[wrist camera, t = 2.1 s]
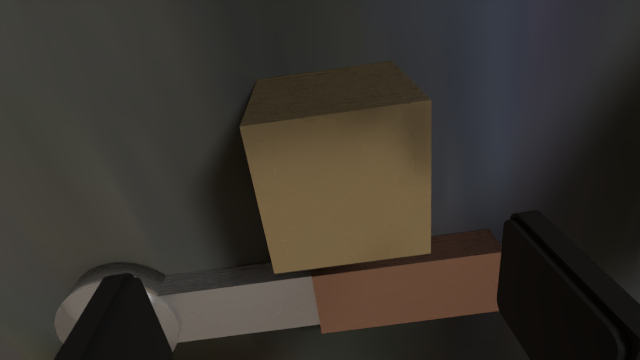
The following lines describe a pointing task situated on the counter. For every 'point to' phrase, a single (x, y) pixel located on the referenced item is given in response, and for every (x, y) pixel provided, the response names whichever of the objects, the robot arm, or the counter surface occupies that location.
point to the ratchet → (311, 292)
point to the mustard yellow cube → (340, 166)
